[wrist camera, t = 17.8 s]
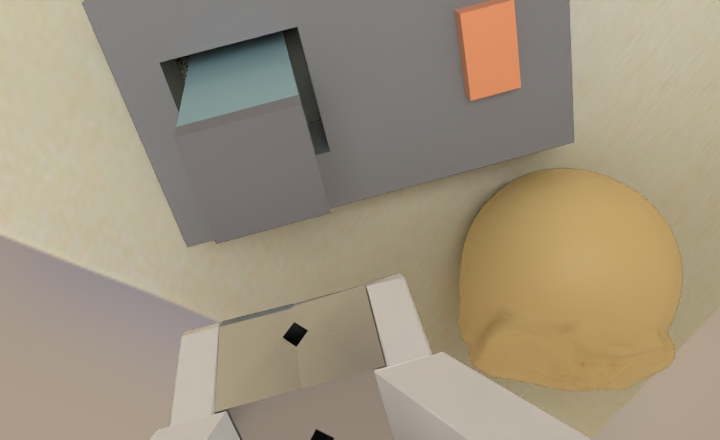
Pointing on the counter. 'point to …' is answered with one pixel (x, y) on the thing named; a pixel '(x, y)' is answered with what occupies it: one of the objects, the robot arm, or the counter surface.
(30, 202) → the counter surface
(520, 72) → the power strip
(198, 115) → the plug
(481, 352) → the sculpture
